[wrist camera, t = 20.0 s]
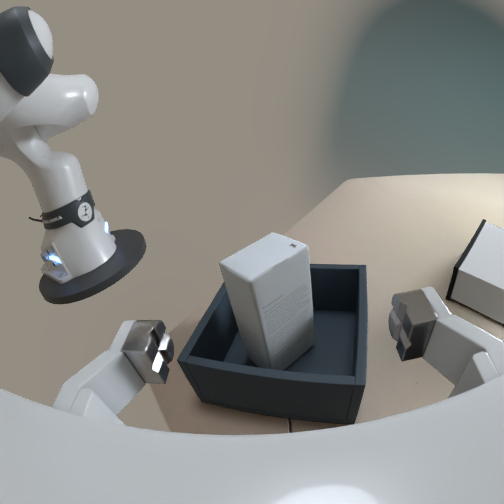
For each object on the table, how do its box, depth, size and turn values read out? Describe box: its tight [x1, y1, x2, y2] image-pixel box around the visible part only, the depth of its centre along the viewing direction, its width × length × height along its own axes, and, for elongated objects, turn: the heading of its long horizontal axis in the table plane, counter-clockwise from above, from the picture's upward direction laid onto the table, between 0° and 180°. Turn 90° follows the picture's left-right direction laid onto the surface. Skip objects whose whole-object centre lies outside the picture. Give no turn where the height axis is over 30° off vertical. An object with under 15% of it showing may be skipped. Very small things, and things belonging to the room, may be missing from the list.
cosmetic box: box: [219, 233, 315, 371], centre depth 25 cm, size 6×4×12 cm
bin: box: [177, 264, 368, 424], centre depth 27 cm, size 15×15×7 cm
